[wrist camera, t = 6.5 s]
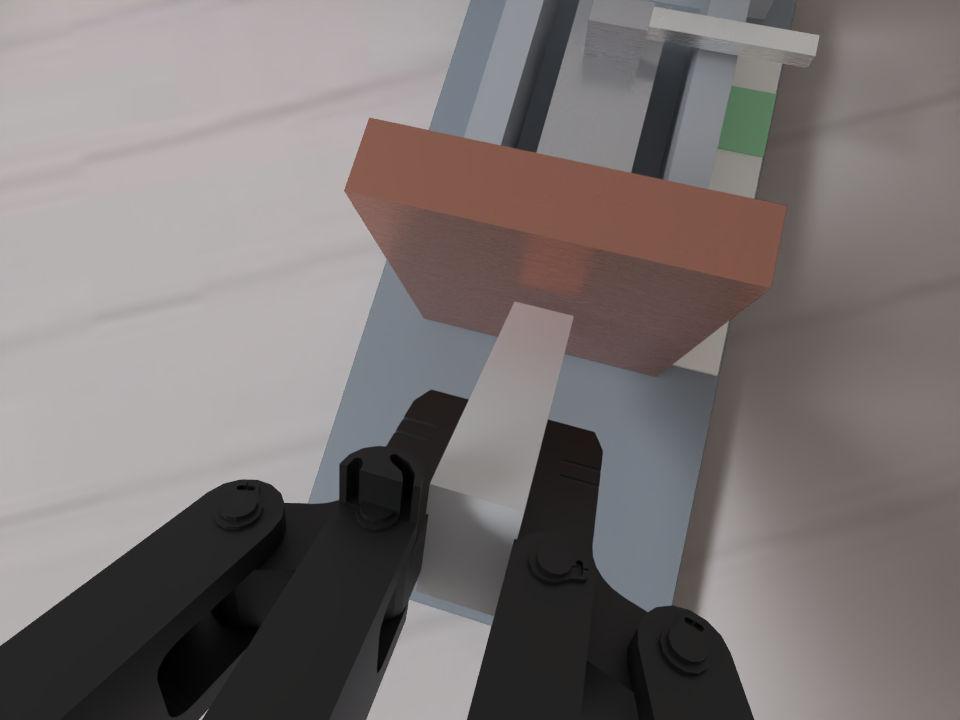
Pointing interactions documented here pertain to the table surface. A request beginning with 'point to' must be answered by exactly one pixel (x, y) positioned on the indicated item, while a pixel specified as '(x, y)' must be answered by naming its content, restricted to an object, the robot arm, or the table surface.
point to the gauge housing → (581, 383)
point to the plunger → (579, 204)
